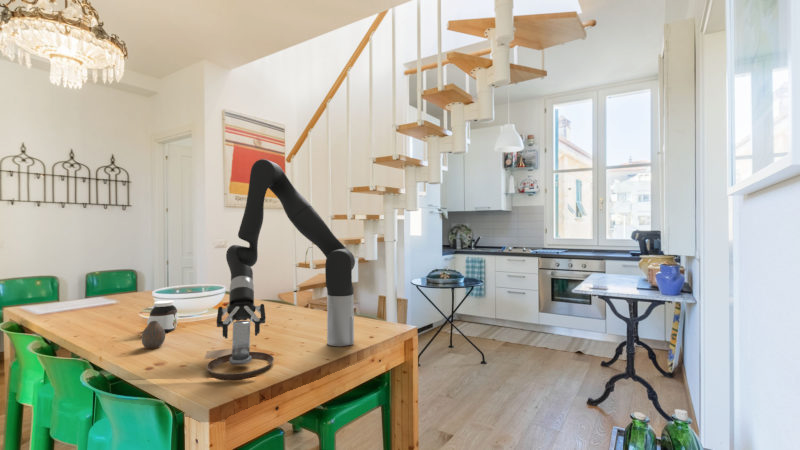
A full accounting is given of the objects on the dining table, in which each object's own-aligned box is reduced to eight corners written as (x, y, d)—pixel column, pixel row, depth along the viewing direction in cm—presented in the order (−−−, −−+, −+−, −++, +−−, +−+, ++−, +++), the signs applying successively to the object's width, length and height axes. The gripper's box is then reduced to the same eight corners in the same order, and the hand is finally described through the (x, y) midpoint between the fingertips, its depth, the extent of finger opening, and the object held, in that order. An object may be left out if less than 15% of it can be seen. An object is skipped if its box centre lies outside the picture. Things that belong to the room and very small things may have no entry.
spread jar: (165, 334, 148) (165, 304, 148) (136, 334, 148) (136, 304, 148) (183, 326, 160) (183, 298, 160) (156, 326, 160) (156, 298, 160)
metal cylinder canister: (253, 357, 112) (255, 320, 113) (248, 364, 107) (249, 324, 107) (233, 357, 112) (234, 320, 112) (226, 364, 106) (227, 324, 106)
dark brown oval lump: (169, 345, 134) (169, 320, 134) (149, 351, 127) (149, 324, 127) (156, 343, 136) (157, 318, 137) (136, 348, 130) (136, 322, 130)
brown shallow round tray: (281, 375, 107) (281, 364, 107) (211, 389, 97) (211, 377, 97) (265, 357, 122) (265, 348, 122) (202, 368, 112) (203, 358, 112)
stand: (233, 351, 127) (233, 348, 127) (233, 358, 119) (233, 355, 119) (207, 354, 124) (207, 351, 124) (204, 362, 116) (204, 358, 116)
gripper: (217, 287, 123) (215, 331, 112) (264, 284, 129) (266, 326, 118) (218, 300, 128) (216, 344, 117) (263, 298, 133) (265, 339, 123)
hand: (241, 335), depth 118 cm, fingers open, 8 cm apart
